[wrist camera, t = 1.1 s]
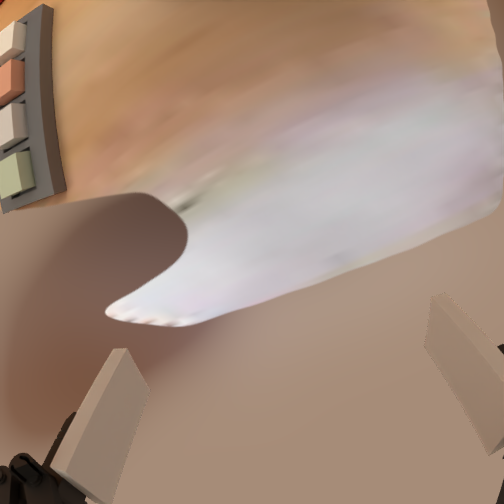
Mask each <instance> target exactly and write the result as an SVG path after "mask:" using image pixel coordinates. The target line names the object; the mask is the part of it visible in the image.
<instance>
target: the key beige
mask: <svg viewBox="0 0 504 504" xmlns="http://www.w3.org/2000/svg"><path fill="white" fill-rule="evenodd" d="M26 138H28V127H27V116H26V104H19V103H11V104H9V105H8V106H6V107H5V108H3V109H2V110H1V111H0V150H3V149H9V148H10V147H12V146H14V145H15V144H17V143H19V142H21V141H22V140H24V139H26Z"/></svg>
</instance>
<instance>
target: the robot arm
mask: <svg viewBox="0 0 504 504" xmlns="http://www.w3.org/2000/svg"><path fill="white" fill-rule="evenodd" d="M424 347H425V349H426V350H427V352H428V353H429V355H430V356H431V358H432V359H433V361H434V362H435V364H436V366H437V367H438V369H439V370H440V372H441V373H442V375H443V377H444V378H445V380H446V381H447V383H448V385H449V386H450V388H451V389H452V391H453V393H454V394H455V396H456V398H457V399H458V401H459V403H460V404H461V406H462V408H463V410H464V411H465V413H466V415H467V417H468V418H469V420H470V422H471V424H472V426H473V427H474V429H475V431H476V433H477V435H478V437H479V439H480V440H481V442H482V444H483V446H484V448H485V450H486V452H487V454H488V456H490V455H491V454H493V453H495V452H496V451H498V450H499V449H501V448H503V447H504V344H502V345H499V346H496V345H495V344H494V343H493V342H492V341H491V340H490V339H489V337H488V336H487V335H486V334H485V333H484V332H483V331H482V330H481V329H480V328H479V327H478V326H477V324H476V323H474V321H473V320H472V319H471V318H470V317H469V316H468V315H467V314H466V313H465V312H464V311H463V310H462V309H461V308H460V307H459V306H458V305H457V304H456V303H455V302H454V301H453V300H452V299H451V298H450V297H449V296H448V295H447V294H446V293H443V294H440V295H436V296H433V297H431V303H430V312H429V320H428V326H427V333H426V339H425V346H424ZM149 394H150V389H149V388H148V386H147V384H146V382H145V380H144V379H143V377H142V375H141V373H140V372H139V370H138V368H137V366H136V364H135V362H134V361H133V359H132V357H131V355H130V353H129V351H128V349H127V348H124V349H123V348H122V349H113V350H112V352H111V354H110V356H109V357H108V359H107V360H106V362H105V364H104V365H103V367H102V369H101V371H100V372H99V374H98V376H97V378H96V379H95V381H94V383H93V384H92V386H91V388H90V390H89V392H88V393H87V395H86V397H85V399H84V401H83V402H82V404H81V406H80V408H79V410H78V412H73V413H72V414H71V415H70V416H69V417H68V418H67V419H66V421H65V423H64V424H63V426H62V428H61V431H60V432H59V434H58V435H57V439H55V441H54V443H53V446H52V447H51V449H50V451H49V453H48V455H47V457H46V459H45V461H44V463H43V465H42V466H41V465H39V464H38V463H37V462H36V461H35V460H34V459H33V458H32V457H31V456H30V455H29V454H27V453H20V454H18V455H16V456H14V458H13V459H12V460H11V462H10V464H9V468H8V467H6V466H0V504H87V502H85V498H86V496H87V497H88V498H90V499H91V500H92V501H94V502H95V503H99V504H112V502H113V499H114V495H115V492H116V489H117V486H118V483H119V480H120V477H121V474H122V470H123V467H124V464H125V461H126V458H127V455H128V453H129V450H130V447H131V444H132V441H133V438H134V435H135V432H136V430H137V427H138V424H139V421H140V418H141V416H142V413H143V410H144V407H145V405H146V402H147V399H148V396H149ZM503 459H504V456H503ZM496 504H504V480H503V483H502V487H501V490H500V493H499V496H498V500H497V503H496Z"/></svg>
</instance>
